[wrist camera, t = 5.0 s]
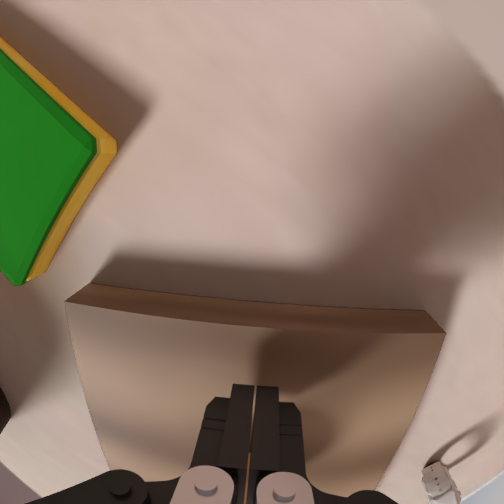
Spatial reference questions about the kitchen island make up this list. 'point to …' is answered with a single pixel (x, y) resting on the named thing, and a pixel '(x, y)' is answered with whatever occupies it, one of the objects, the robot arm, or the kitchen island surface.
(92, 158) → the dish sponge
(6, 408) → the coffee mug
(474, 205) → the kitchen island surface
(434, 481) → the smartwatch
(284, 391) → the walnut board
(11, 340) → the kitchen island surface
